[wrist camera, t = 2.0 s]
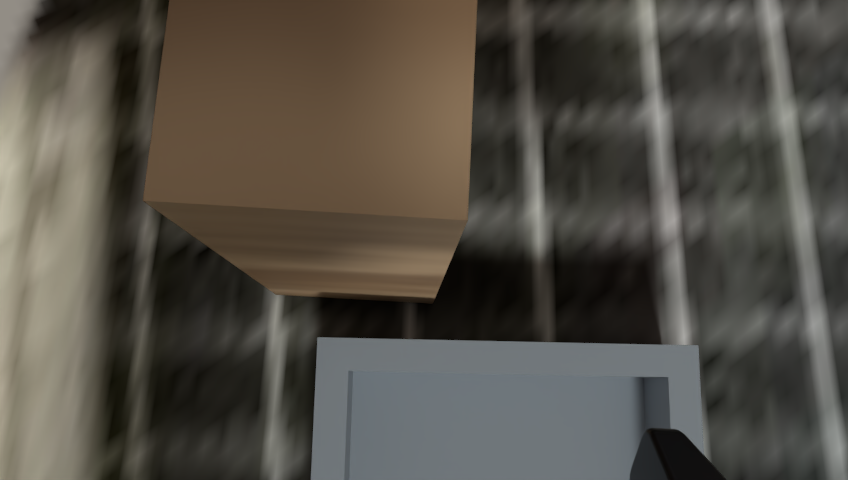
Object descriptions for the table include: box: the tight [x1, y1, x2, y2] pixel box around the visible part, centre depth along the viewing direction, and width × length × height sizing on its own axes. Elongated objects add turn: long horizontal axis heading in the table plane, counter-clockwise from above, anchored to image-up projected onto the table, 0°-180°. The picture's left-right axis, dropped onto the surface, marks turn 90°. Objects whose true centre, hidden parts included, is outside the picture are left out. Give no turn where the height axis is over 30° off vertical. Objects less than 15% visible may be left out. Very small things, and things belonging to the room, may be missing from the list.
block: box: [143, 0, 477, 304], centre depth 16 cm, size 4×4×11 cm
